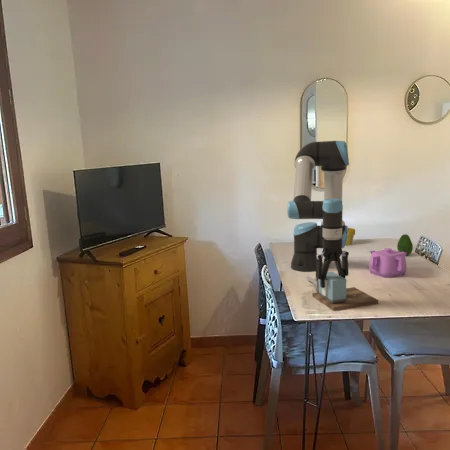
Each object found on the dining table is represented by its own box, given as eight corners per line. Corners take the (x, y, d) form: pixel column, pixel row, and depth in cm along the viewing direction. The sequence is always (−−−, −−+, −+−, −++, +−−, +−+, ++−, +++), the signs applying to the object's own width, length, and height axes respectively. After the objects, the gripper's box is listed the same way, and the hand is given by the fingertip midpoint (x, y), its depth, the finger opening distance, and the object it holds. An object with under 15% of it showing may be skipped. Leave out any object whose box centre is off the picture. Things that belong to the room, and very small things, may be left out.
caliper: (319, 292, 185) (319, 278, 184) (316, 292, 185) (316, 279, 184) (308, 278, 205) (308, 266, 204) (305, 278, 205) (305, 266, 204)
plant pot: (357, 243, 272) (357, 228, 271) (352, 246, 264) (352, 231, 262) (340, 241, 278) (341, 227, 276) (335, 245, 269) (335, 230, 267)
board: (312, 296, 180) (312, 293, 180) (354, 290, 186) (354, 287, 185) (333, 310, 164) (333, 306, 164) (378, 303, 170) (378, 299, 169)
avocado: (405, 253, 244) (406, 232, 242) (415, 256, 237) (416, 234, 235) (393, 254, 242) (394, 233, 240) (403, 257, 234) (404, 236, 232)
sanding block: (318, 294, 178) (318, 273, 176) (331, 292, 179) (331, 271, 177) (332, 303, 167) (332, 280, 165) (346, 300, 169) (346, 279, 167)
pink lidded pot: (368, 277, 204) (369, 251, 201) (369, 267, 219) (370, 243, 217) (407, 279, 198) (408, 253, 195) (405, 269, 213) (406, 245, 211)
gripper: (315, 242, 163) (315, 300, 167) (358, 237, 168) (357, 293, 172) (306, 238, 170) (306, 294, 174) (348, 234, 175) (347, 288, 179)
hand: (332, 293), depth 173 cm, fingers closed on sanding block, 6 cm apart
